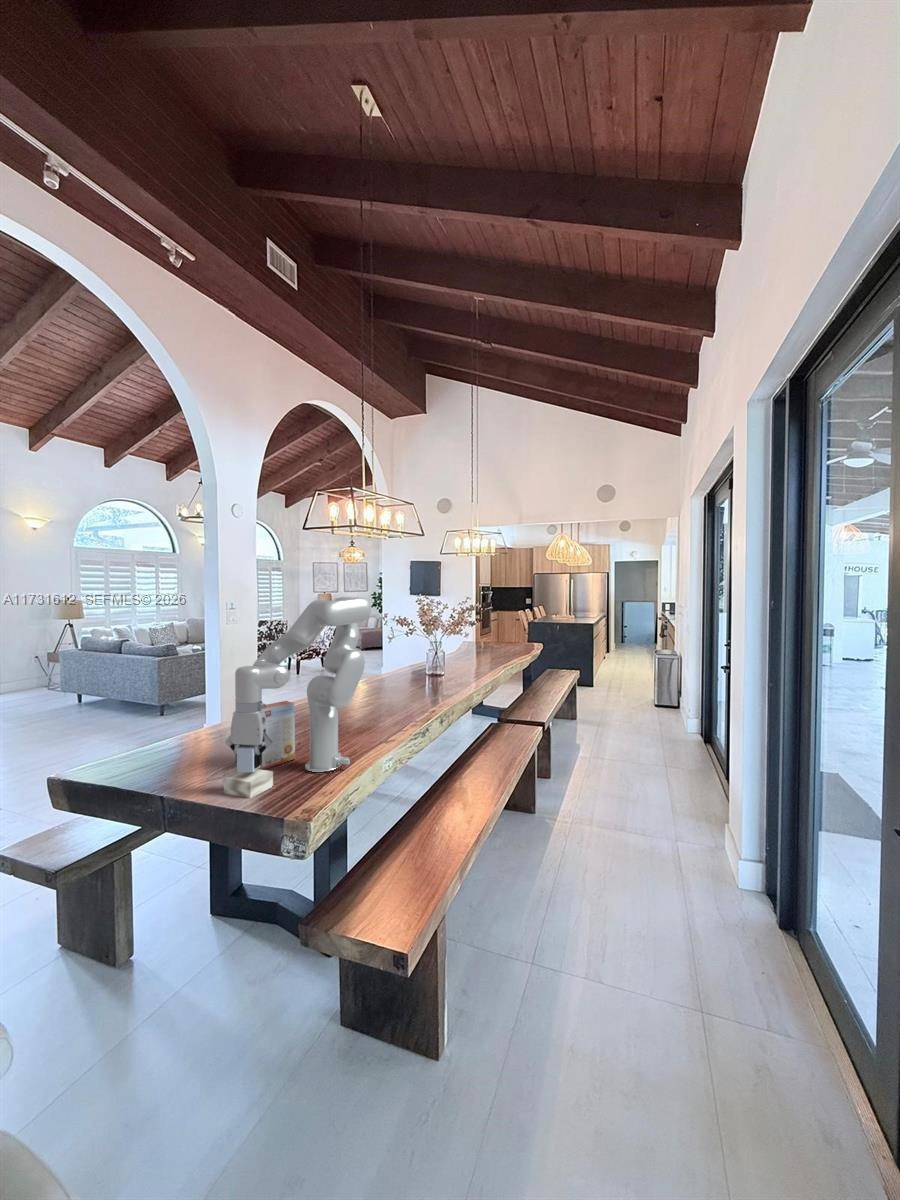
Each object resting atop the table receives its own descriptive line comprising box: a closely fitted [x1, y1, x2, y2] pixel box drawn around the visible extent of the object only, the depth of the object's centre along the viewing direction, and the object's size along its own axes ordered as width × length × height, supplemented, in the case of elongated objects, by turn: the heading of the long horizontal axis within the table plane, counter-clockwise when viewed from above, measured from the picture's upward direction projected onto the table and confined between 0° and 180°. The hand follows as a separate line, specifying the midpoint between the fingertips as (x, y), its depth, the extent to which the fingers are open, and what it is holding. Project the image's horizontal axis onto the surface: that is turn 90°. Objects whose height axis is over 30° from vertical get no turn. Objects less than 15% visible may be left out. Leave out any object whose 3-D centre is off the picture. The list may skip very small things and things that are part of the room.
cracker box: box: [258, 700, 296, 770], centre depth 188 cm, size 14×6×21 cm, turn 141°
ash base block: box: [223, 769, 274, 799], centre depth 164 cm, size 10×10×5 cm
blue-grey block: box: [236, 745, 260, 772], centre depth 164 cm, size 5×5×7 cm
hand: (248, 765), depth 164 cm, fingers closed on blue-grey block, 5 cm apart
